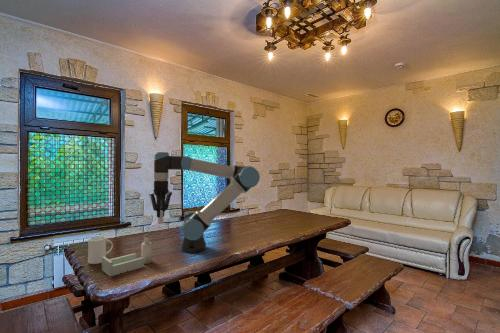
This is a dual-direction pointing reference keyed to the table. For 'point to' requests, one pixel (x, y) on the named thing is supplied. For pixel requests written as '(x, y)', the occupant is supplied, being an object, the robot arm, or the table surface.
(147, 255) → the bottle
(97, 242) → the mug
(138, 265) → the cradle
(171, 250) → the table surface
